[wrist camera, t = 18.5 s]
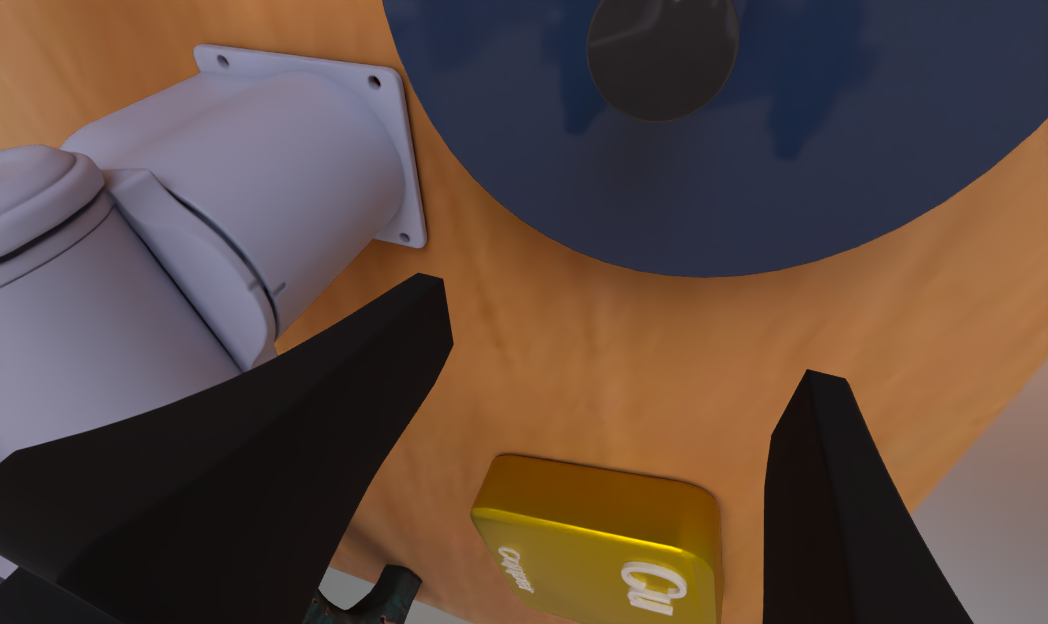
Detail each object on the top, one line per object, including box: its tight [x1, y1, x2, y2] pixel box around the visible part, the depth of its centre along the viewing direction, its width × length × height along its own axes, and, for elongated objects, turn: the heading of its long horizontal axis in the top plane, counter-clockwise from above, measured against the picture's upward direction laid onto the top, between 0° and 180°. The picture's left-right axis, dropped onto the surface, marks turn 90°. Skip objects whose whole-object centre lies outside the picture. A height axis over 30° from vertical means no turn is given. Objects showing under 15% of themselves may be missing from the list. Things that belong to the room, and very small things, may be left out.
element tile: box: [470, 455, 723, 624], centre depth 36 cm, size 15×15×5 cm
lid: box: [382, 0, 1048, 278], centre depth 10 cm, size 15×15×5 cm
